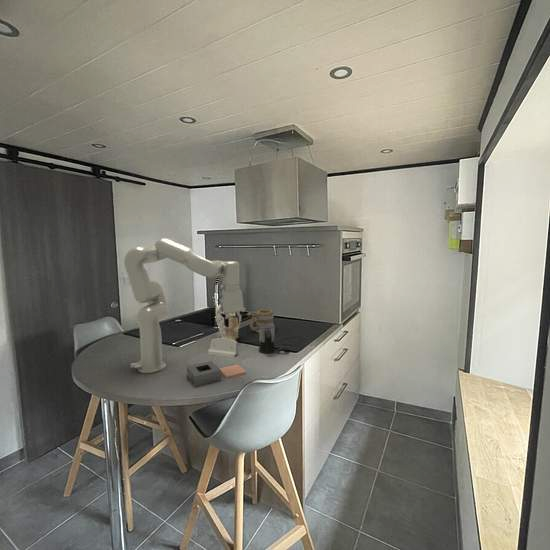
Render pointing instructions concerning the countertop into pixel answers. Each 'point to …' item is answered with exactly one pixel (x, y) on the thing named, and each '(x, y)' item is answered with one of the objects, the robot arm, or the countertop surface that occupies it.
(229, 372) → the mat
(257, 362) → the countertop surface
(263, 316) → the tankard
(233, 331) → the peg
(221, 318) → the vase
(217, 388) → the countertop surface
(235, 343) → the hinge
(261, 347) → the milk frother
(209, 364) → the grey slotted holder
